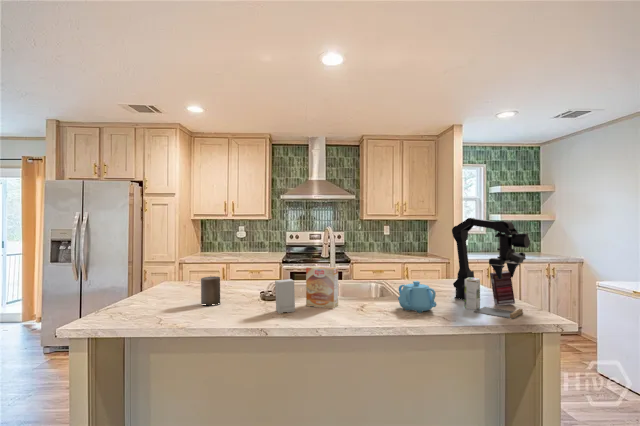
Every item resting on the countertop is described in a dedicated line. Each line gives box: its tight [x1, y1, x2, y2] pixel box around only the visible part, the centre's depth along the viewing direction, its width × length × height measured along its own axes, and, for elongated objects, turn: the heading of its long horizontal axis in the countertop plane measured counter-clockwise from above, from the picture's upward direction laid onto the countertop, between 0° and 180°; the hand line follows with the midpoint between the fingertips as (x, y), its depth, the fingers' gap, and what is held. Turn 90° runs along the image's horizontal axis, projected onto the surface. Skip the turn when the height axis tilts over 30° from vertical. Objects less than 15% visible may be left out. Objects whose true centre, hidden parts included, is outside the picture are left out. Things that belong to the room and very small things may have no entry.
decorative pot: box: [397, 280, 437, 314], centre depth 177 cm, size 16×16×14 cm
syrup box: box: [463, 277, 481, 311], centre depth 179 cm, size 6×6×14 cm
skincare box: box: [274, 278, 296, 314], centre depth 175 cm, size 8×6×15 cm
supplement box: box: [489, 270, 516, 306], centre depth 186 cm, size 9×5×16 cm, turn 84°
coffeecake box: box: [305, 265, 339, 309], centre depth 186 cm, size 15×7×20 cm, turn 68°
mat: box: [473, 306, 524, 320], centre depth 170 cm, size 17×13×2 cm
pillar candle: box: [200, 276, 221, 305], centre depth 191 cm, size 10×10×15 cm
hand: (505, 278), depth 182 cm, fingers open, 9 cm apart
